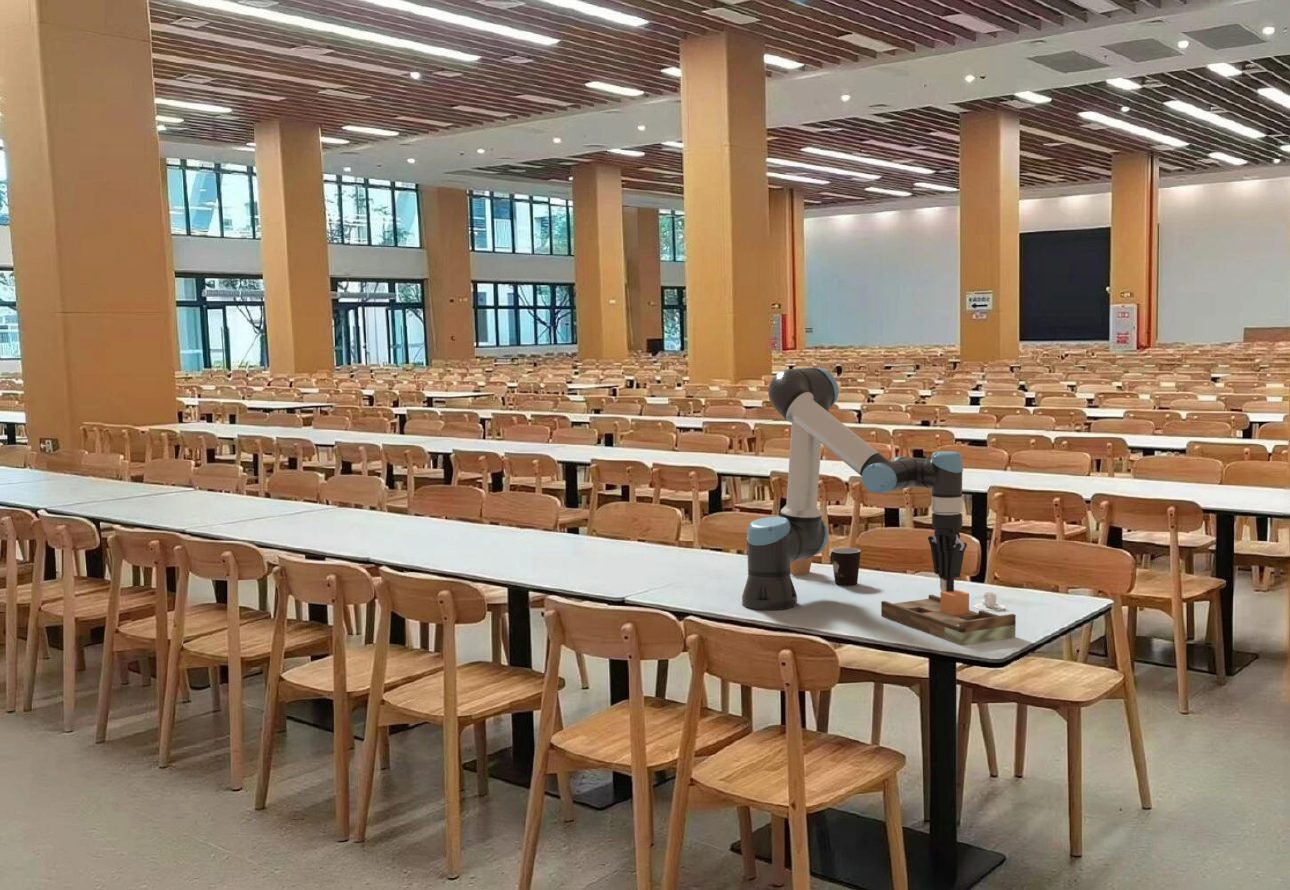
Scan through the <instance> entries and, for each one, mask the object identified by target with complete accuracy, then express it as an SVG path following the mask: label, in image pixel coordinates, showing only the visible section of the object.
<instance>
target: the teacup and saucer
mask: <svg viewBox="0 0 1290 890" xmlns="http://www.w3.org/2000/svg"><path fill="white" fill-rule="evenodd" d="M983 597H984V598H982V599H981V603H977V604H974V606H973V607H974V608H975V609H977V610H982V611H989V609H990V612H991V611H992V612H993V611H1002V610H1005V609H1006V606H1005V605H1003V604H998V603H997V593H995V592H984V593H983ZM980 606H985V608H981V607H980ZM996 606H998V607H1000V608H997V609H995V608H996ZM986 608H987V609H986ZM993 608H994V609H993Z"/></svg>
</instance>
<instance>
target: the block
mask: <svg viewBox="0 0 1290 890" xmlns="http://www.w3.org/2000/svg"><path fill="white" fill-rule="evenodd" d="M940 597H941V611H942V612H945V613H948V614H951V615H958V614H965V613H969V610H970V593H968V592H965V591H964V590H963V591H962V590H959V589H954V591H951V592H948V591H943V592H941V591H940Z"/></svg>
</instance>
